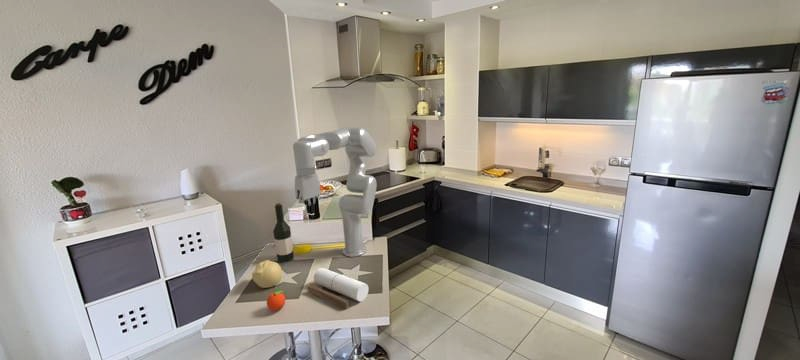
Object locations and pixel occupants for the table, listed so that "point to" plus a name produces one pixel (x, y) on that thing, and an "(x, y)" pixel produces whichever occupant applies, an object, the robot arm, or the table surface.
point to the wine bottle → (282, 237)
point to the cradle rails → (328, 296)
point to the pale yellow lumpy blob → (267, 274)
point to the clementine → (276, 301)
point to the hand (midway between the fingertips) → (311, 213)
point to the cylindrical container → (341, 284)
